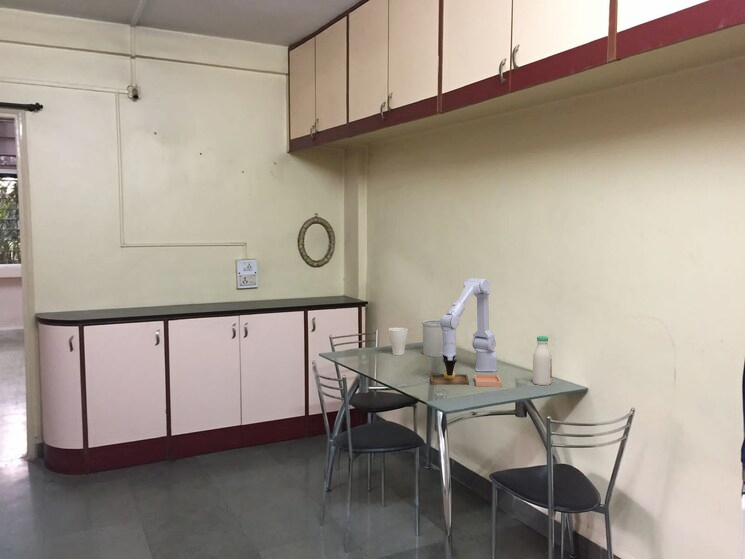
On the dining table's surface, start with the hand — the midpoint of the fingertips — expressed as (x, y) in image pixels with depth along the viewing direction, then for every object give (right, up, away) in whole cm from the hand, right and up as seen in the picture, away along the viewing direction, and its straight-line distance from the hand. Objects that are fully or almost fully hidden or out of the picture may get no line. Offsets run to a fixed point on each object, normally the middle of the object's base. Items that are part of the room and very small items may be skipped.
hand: (449, 373), depth 268 cm
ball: (0, 0, 0) cm, 0 cm away
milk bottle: (+39, -4, -6) cm, 39 cm away
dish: (+16, -4, -4) cm, 17 cm away
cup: (-20, +1, +58) cm, 61 cm away
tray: (0, -3, 0) cm, 3 cm away
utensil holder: (0, +1, +56) cm, 56 cm away
